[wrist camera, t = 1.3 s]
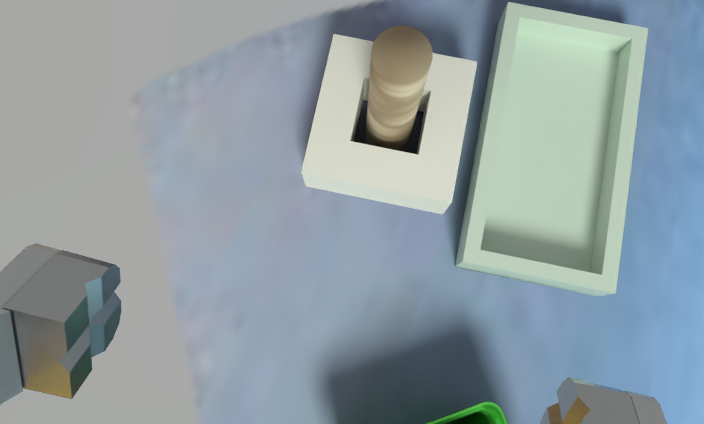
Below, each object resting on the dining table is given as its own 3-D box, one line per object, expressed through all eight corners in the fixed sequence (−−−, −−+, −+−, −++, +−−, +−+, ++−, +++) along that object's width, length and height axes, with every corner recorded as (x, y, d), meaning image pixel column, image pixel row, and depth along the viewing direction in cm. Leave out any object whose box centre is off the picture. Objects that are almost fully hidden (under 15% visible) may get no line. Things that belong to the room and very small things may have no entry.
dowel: (413, 119, 44) (437, 31, 31) (404, 159, 43) (426, 87, 31) (370, 110, 44) (377, 20, 31) (361, 151, 44) (365, 75, 31)
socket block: (466, 85, 45) (477, 61, 41) (442, 214, 43) (451, 202, 39) (335, 60, 45) (333, 33, 41) (305, 186, 43) (301, 171, 39)
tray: (628, 48, 45) (648, 28, 42) (596, 296, 41) (615, 293, 39) (497, 23, 46) (508, 1, 43) (454, 266, 42) (462, 261, 39)
